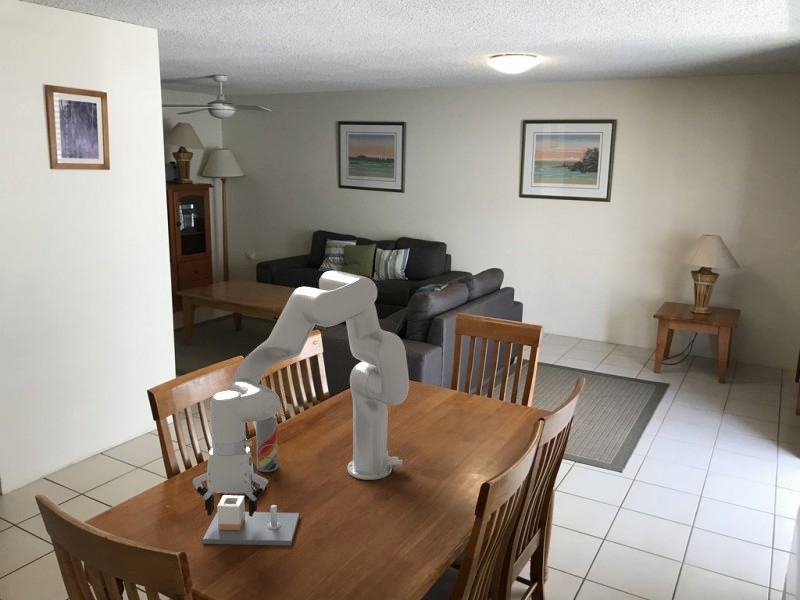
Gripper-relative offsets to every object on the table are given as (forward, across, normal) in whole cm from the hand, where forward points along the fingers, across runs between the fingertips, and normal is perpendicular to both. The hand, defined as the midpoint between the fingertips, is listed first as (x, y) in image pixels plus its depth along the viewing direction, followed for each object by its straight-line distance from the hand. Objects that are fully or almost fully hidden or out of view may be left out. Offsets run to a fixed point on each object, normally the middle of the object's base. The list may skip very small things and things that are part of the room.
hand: (231, 512), depth 155 cm
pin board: (+4, -5, 0) cm, 7 cm away
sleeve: (+3, 0, 0) cm, 3 cm away
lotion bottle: (+4, -2, -32) cm, 32 cm away
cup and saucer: (+5, +2, -20) cm, 20 cm away
